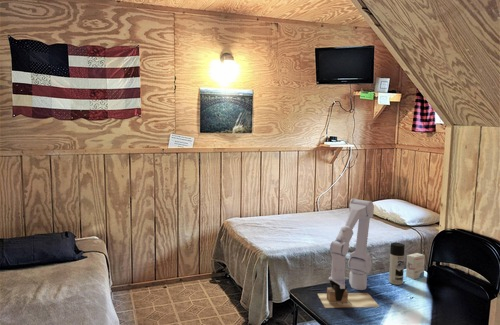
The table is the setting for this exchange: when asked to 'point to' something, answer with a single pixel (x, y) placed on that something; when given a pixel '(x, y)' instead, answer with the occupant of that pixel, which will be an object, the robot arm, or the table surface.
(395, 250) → the spray can
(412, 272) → the ink box
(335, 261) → the robot arm
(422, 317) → the table surface
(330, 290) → the block
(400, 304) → the table surface
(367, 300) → the board
